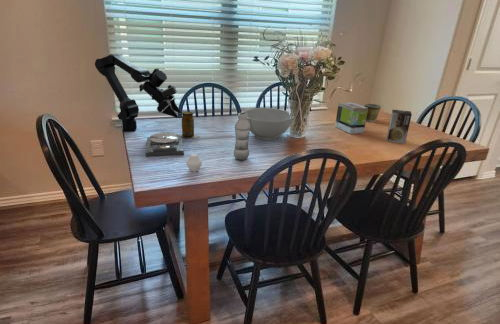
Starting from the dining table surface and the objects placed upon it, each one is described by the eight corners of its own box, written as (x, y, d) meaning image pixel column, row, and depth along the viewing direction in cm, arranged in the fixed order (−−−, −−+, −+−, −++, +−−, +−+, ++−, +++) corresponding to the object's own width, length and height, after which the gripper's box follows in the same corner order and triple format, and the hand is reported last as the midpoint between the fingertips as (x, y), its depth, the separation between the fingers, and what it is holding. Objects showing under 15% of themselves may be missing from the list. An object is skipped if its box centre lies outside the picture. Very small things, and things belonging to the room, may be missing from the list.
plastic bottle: (233, 155, 143) (234, 111, 136) (248, 156, 144) (250, 112, 136) (233, 161, 138) (234, 115, 130) (249, 161, 138) (251, 116, 130)
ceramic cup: (380, 123, 204) (383, 107, 200) (364, 122, 204) (367, 106, 200) (373, 117, 216) (376, 103, 212) (358, 117, 216) (361, 102, 212)
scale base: (146, 156, 138) (145, 149, 137) (147, 141, 156) (147, 134, 155) (184, 154, 142) (183, 147, 141) (181, 140, 160) (181, 133, 159)
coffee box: (404, 140, 174) (411, 111, 168) (405, 144, 168) (412, 113, 162) (386, 138, 177) (392, 109, 170) (386, 141, 171) (393, 111, 165)
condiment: (190, 132, 171) (190, 110, 167) (199, 137, 165) (198, 114, 161) (178, 135, 167) (177, 112, 162) (186, 139, 161) (185, 116, 156)
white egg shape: (187, 167, 130) (186, 150, 128) (202, 167, 131) (202, 151, 128) (185, 173, 125) (184, 156, 122) (201, 173, 125) (201, 157, 122)
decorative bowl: (233, 140, 163) (233, 116, 158) (251, 126, 186) (252, 105, 182) (284, 148, 155) (287, 124, 150) (297, 133, 178) (299, 111, 173)
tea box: (364, 133, 184) (369, 107, 178) (349, 134, 180) (353, 108, 174) (348, 125, 196) (352, 101, 191) (334, 126, 193) (337, 102, 187)
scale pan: (149, 144, 143) (149, 141, 143) (150, 135, 155) (150, 132, 154) (179, 143, 146) (179, 140, 146) (178, 134, 158) (178, 131, 157)
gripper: (162, 83, 146) (187, 108, 151) (169, 77, 163) (191, 99, 168) (146, 100, 148) (171, 124, 154) (154, 92, 166) (177, 114, 171)
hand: (178, 114), depth 161 cm, fingers open, 9 cm apart
